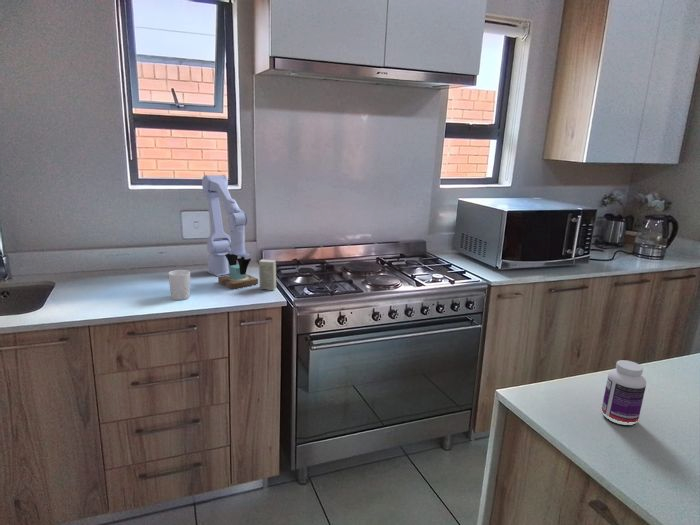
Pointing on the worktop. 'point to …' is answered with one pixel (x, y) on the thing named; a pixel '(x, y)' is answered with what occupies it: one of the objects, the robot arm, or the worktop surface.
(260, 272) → the skincare box
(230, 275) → the teal block
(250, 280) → the walnut plinth
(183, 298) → the white cup
